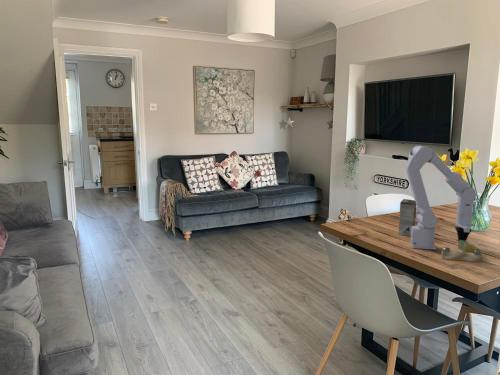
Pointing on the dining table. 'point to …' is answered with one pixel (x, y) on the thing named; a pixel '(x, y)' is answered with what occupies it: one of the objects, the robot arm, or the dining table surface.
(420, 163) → the robot arm
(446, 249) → the bench dogs
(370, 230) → the dining table surface
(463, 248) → the medication box
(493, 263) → the dining table surface
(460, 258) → the bench stop
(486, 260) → the dining table surface
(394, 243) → the dining table surface
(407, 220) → the coffee box
